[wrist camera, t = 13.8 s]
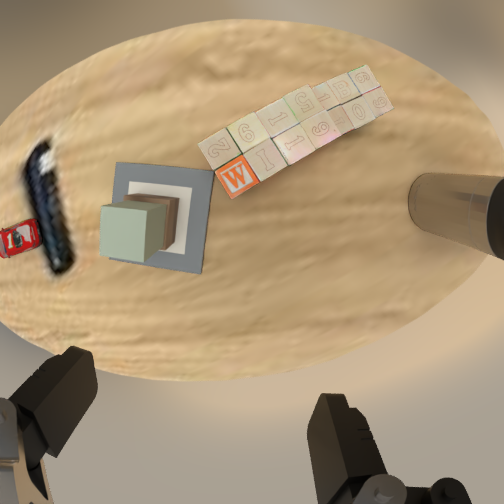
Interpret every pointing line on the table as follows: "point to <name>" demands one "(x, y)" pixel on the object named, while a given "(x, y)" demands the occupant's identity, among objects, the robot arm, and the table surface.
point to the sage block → (132, 230)
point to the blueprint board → (195, 215)
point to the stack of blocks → (292, 128)
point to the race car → (19, 238)
